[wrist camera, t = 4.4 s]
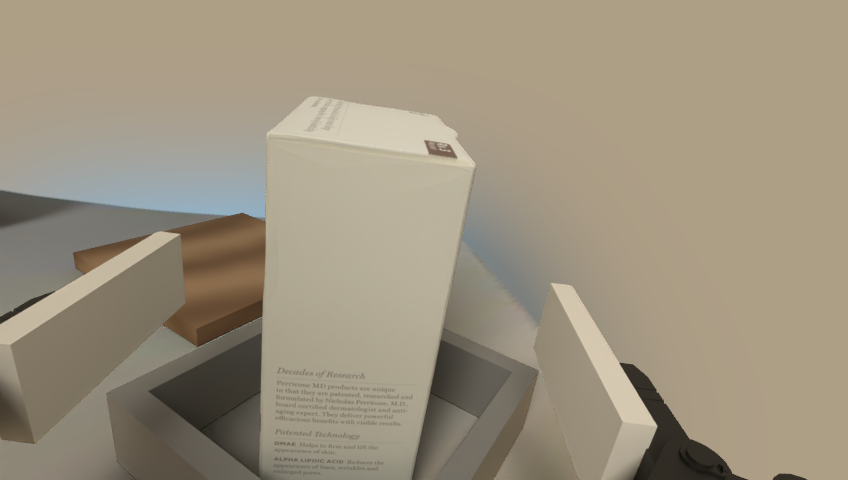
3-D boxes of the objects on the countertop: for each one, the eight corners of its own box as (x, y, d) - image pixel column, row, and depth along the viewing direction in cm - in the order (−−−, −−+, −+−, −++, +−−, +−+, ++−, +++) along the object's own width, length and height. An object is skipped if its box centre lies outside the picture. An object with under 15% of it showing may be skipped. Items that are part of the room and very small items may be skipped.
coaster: (75, 268, 32) (73, 252, 31) (242, 224, 43) (242, 212, 43) (197, 346, 26) (196, 328, 25) (354, 271, 37) (355, 258, 37)
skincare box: (292, 379, 24) (300, 93, 19) (403, 383, 25) (441, 110, 20) (254, 531, 16) (248, 117, 11) (416, 529, 17) (485, 145, 12)
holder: (117, 461, 18) (106, 393, 17) (334, 329, 29) (337, 281, 28) (368, 701, 12) (380, 625, 11) (523, 425, 23) (538, 370, 22)
